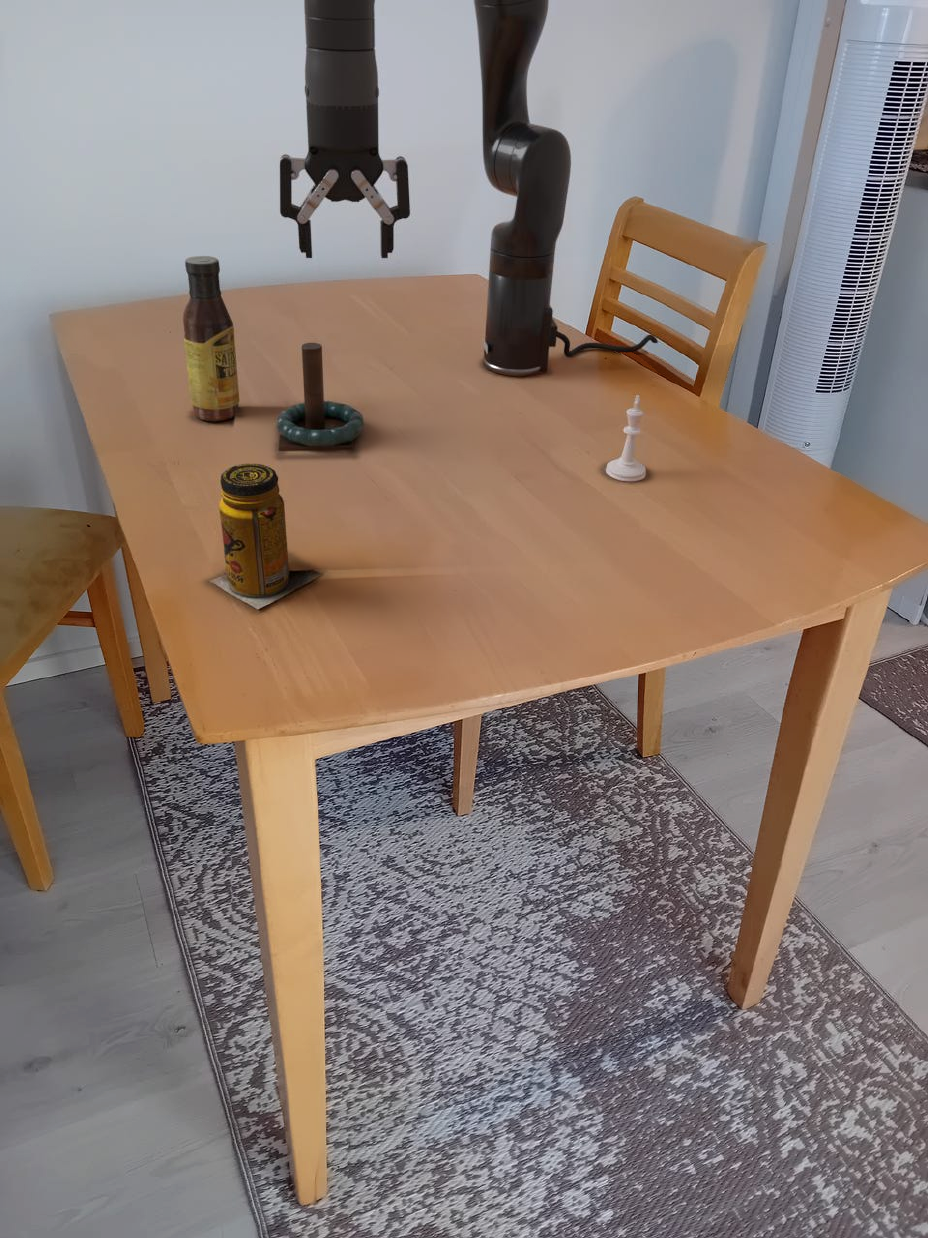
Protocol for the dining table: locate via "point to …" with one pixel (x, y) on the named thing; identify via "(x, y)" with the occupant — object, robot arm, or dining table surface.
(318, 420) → the peg stand
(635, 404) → the chess piece
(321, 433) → the ring
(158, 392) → the dining table surface
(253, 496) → the condiment
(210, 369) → the sauce bottle
